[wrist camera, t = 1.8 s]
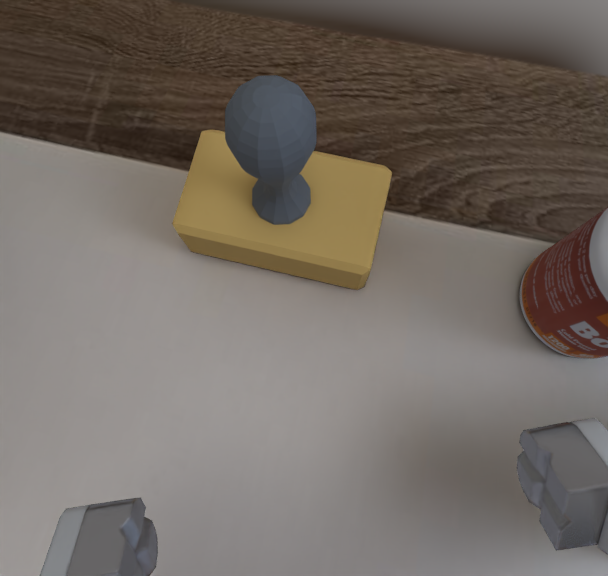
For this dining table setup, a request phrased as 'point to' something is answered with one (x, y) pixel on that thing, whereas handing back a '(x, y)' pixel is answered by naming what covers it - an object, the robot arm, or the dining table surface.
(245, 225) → the rubber stamp
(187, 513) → the dining table surface
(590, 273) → the pill bottle
